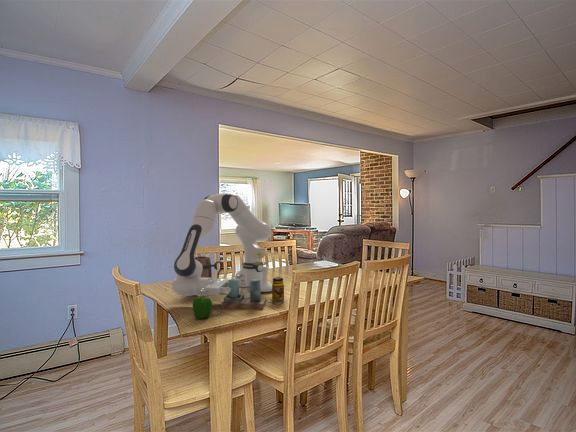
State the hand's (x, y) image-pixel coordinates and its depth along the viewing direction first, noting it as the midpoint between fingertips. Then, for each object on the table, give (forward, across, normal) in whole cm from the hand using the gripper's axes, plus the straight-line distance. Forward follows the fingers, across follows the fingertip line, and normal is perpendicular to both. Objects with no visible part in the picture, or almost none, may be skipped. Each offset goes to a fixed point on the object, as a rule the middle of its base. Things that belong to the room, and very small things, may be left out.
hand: (233, 287), depth 162 cm
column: (0, 0, +6) cm, 7 cm away
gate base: (+5, 0, +9) cm, 10 cm away
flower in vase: (+10, +30, +9) cm, 33 cm away
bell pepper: (-10, -19, +9) cm, 23 cm away
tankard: (-22, +25, +9) cm, 34 cm away
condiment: (+20, +9, +9) cm, 24 cm away
